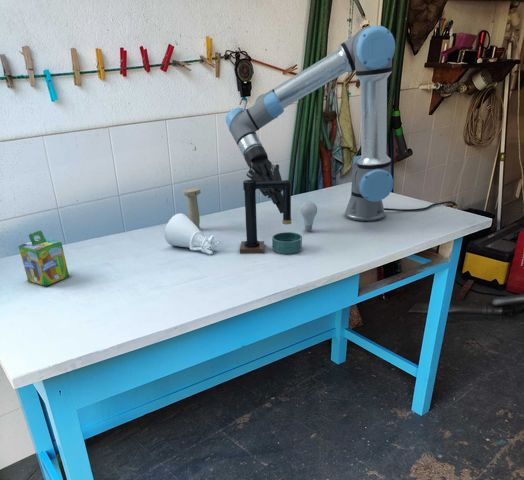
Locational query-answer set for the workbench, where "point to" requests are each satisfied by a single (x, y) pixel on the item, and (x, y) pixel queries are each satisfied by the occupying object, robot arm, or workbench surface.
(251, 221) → the black post
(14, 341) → the workbench surface
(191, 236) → the rocket engine
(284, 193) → the spout
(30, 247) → the chalk box
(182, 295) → the workbench surface
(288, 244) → the basin
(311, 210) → the lightbulb
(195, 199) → the handle
